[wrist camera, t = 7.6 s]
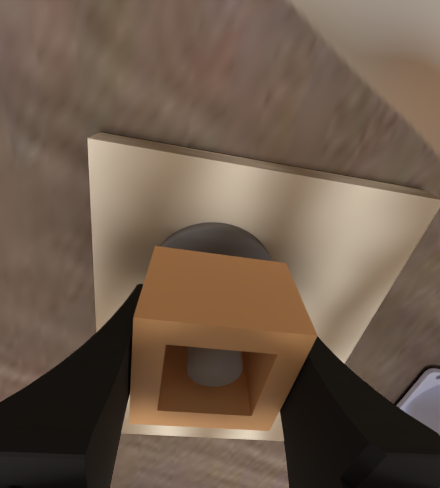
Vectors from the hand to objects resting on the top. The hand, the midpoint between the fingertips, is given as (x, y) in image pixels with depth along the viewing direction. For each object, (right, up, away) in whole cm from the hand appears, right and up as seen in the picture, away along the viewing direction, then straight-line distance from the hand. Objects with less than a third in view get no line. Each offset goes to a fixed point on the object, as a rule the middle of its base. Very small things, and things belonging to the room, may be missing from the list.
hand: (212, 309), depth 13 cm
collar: (0, 0, 0) cm, 0 cm away
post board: (+1, -3, +6) cm, 7 cm away
